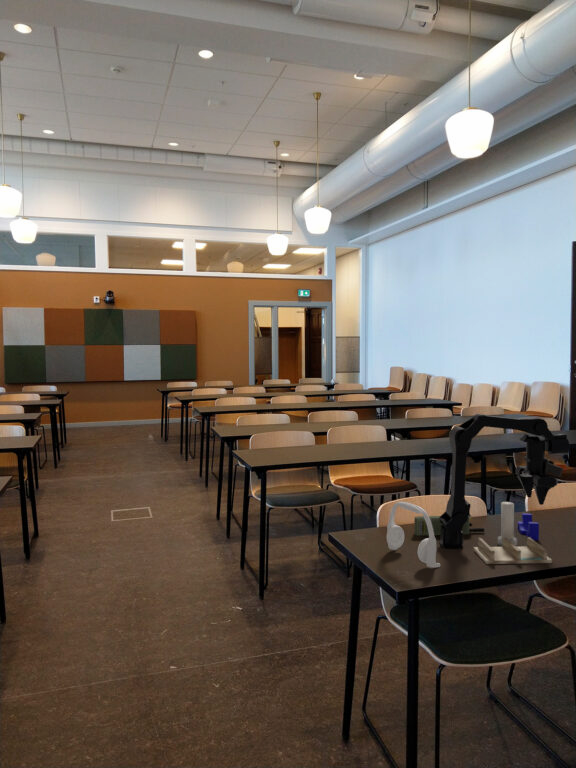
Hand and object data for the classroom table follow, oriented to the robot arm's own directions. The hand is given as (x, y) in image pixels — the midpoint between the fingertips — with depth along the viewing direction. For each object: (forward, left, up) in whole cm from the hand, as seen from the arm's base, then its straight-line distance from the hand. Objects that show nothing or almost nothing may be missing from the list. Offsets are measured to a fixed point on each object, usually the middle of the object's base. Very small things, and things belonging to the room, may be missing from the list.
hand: (535, 500), depth 188 cm
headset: (-44, -12, -15) cm, 48 cm away
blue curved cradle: (+2, +10, -15) cm, 18 cm away
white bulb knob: (-9, 0, -15) cm, 17 cm away
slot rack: (-12, -11, -15) cm, 22 cm away
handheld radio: (-25, +12, -15) cm, 32 cm away
